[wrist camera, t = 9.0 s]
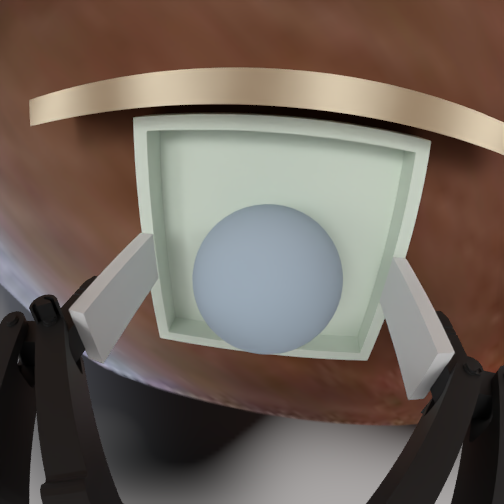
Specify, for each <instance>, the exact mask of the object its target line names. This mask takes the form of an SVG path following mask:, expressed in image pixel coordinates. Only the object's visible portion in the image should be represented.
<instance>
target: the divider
mask: <svg viewBox="0 0 504 504" xmlns="http://www.w3.org/2000/svg"><path fill="white" fill-rule="evenodd" d="M192 104H245V105H267V106H283V107H295V108H305V109H315V110H323V111H331V112H338V113H345V114H352V115H358V116H364V117H369V118H375V119H380V120H385V121H390V122H395V123H399V124H404V125H408V126H412V127H417V128H421V129H425V130H428V131H432V132H436V133H440V134H443V135H447V136H450V137H453V138H457V139H460V140H463V141H466V142H469V143H472V144H475V145H478V146H481V147H484V148H487V149H490V150H492V151H495V152H498V153H500V154H503V155H504V122H501V121H499V120H497V119H494V118H492V117H490V116H487V115H485V114H482V113H480V112H477V111H475V110H472V109H470V108H467V107H464V106H461V105H459V104H456V103H453V102H450V101H447V100H444V99H441V98H437V97H434V96H431V95H427V94H424V93H420V92H417V91H413V90H409V89H406V88H402V87H397V86H393V85H389V84H384V83H380V82H375V81H370V80H365V79H359V78H354V77H348V76H341V75H334V74H327V73H319V72H310V71H300V70H288V69H271V68H201V69H185V70H173V71H163V72H154V73H146V74H138V75H132V76H125V77H119V78H114V79H108V80H103V81H98V82H94V83H89V84H85V85H80V86H76V87H72V88H68V89H65V90H61V91H57V92H54V93H50V94H47V95H44V96H40V97H37V98H34V99H31V100H29V106H30V126H33V125H38V124H42V123H46V122H51V121H55V120H60V119H65V118H70V117H76V116H82V115H87V114H94V113H100V112H107V111H115V110H123V109H132V108H143V107H155V106H170V105H192Z"/></svg>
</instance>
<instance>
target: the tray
mask: <svg viewBox="0 0 504 504" xmlns="http://www.w3.org/2000/svg"><path fill="white" fill-rule="evenodd" d="M133 127H134V150H135V167H136V180H137V192H138V202H139V212H140V221H141V229H142V233H147V234H153V240H154V248H155V256H156V263H157V270H158V277H159V278H158V280H157V281H156V283H155V284H154V286H153V287H152V289H151V294H152V300H153V305H154V310H155V315H156V320H157V325H158V330H159V334H160V338H164V339H169V340H175V341H180V342H186V343H192V344H198V345H204V346H210V347H217V348H224V349H231V350H238V351H244V350H241V349H238V348H236V347H234V346H232V345H230V344H228V343H227V342H225V341H224V340H223V339H221V338H220V337H219V336H218V335H217V334H216V333H215V332H213V331H212V329H211V328H210V327H209V326H208V325H207V323H206V322H205V320H204V319H203V317H202V315H201V313H200V311H199V309H198V307H197V303H196V300H195V297H194V292H193V281H192V274H193V268H194V262H195V258H196V255H197V252H198V250H199V248H200V246H201V244H202V242H203V240H204V239H205V237H206V236H207V234H208V233H209V232H210V231H211V229H212V228H213V227H214V226H215V225H216V224H217V223H218V222H220V221H221V220H222V219H224V218H225V217H226V216H228V215H230V214H232V213H233V212H235V211H237V210H240V209H242V208H245V207H249V206H253V205H262V204H276V205H282V206H286V207H290V208H293V209H296V210H298V211H300V212H302V213H304V214H306V215H308V216H309V217H311V218H312V219H313V220H315V221H316V222H317V223H318V224H319V225H320V226H321V227H322V228H323V229H324V230H325V231H326V232H327V234H328V235H329V236H330V238H331V239H332V241H333V243H334V245H335V247H336V249H337V251H338V254H339V257H340V260H341V265H342V272H343V287H342V293H341V298H340V301H339V304H338V307H337V310H336V312H335V314H334V316H333V317H332V319H331V320H330V322H329V323H328V325H327V326H326V327H325V329H324V330H323V331H322V332H321V333H320V334H319V335H317V336H316V337H315V338H314V339H312V340H311V341H310V342H308V343H307V344H305V345H303V346H301V347H299V348H297V349H294V350H291V351H288V352H285V353H280V354H273V355H283V356H294V357H306V358H321V359H339V360H368V358H369V356H370V353H371V351H372V349H373V346H374V344H375V341H376V339H377V337H378V334H379V332H380V329H381V327H382V324H383V322H384V319H385V316H384V313H383V310H382V307H381V304H380V298H381V295H382V292H383V288H384V285H385V282H386V279H387V276H388V272H389V269H390V266H391V262H392V259H393V257H396V258H405V257H406V254H407V250H408V247H409V243H410V240H411V236H412V232H413V229H414V225H415V221H416V217H417V213H418V208H419V204H420V200H421V195H422V190H423V185H424V180H425V175H426V170H427V164H428V159H429V152H430V146H431V141H430V140H427V139H424V138H421V137H419V136H416V135H411V134H407V133H402V132H398V131H393V130H388V129H383V128H378V127H372V126H367V125H361V124H355V123H348V122H341V121H334V120H326V119H318V118H309V117H299V116H288V115H275V114H258V113H227V112H200V113H169V114H152V115H145V116H139V117H133ZM246 352H247V351H246Z"/></svg>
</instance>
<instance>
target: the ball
mask: <svg viewBox="0 0 504 504" xmlns="http://www.w3.org/2000/svg"><path fill="white" fill-rule="evenodd" d="M192 281H193V292H194V297H195V300H196V303H197V307H198V309H199V311H200V313H201V315H202V317H203V319H204V320H205V322H206V323H207V325H208V326H209V327H210V328H211V329H212V331H213V332H215V333H216V334H217V335H218V336H219V337H220V338H221V339H223V340H224V341H225V342H227V343H228V344H230V345H232V346H234V347H236V348H238V349H241V350H244V351H247V352H251V353H256V354H280V353H285V352H288V351H291V350H294V349H297V348H299V347H301V346H303V345H305V344H307V343H308V342H310V341H311V340H312V339H314V338H315V337H316V336H317V335H319V334H320V333H321V332H322V331H323V330H324V329H325V327H326V326H327V325H328V323H329V322H330V320H331V319H332V317H333V316H334V314H335V312H336V310H337V307H338V304H339V301H340V298H341V293H342V287H343V272H342V265H341V260H340V257H339V254H338V251H337V249H336V247H335V245H334V243H333V241H332V239H331V238H330V236H329V235H328V234H327V232H326V231H325V230H324V229H323V228H322V227H321V226H320V225H319V224H318V223H317V222H316V221H315V220H313V219H312V218H311V217H309V216H308V215H306V214H304V213H302V212H300V211H298V210H296V209H293V208H290V207H286V206H282V205H276V204H262V205H253V206H249V207H245V208H242V209H240V210H237V211H235V212H233V213H232V214H230V215H228V216H226V217H225V218H224V219H222V220H221V221H220V222H218V223H217V224H216V225H215V226H214V227H213V228H212V229H211V231H210V232H209V233H208V234H207V236H206V237H205V239H204V240H203V242H202V244H201V246H200V248H199V250H198V252H197V255H196V258H195V262H194V268H193V274H192Z"/></svg>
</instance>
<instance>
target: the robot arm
mask: <svg viewBox="0 0 504 504" xmlns="http://www.w3.org/2000/svg"><path fill="white" fill-rule="evenodd" d="M158 278H159V277H158V270H157V263H156V256H155V248H154V240H153V234H147V233H140V234H139V235H138V236H137V237H136V238H135V239H134V240H133V241H132V242H131V243H130V244H129V245H128V246H127V247H126V248H125V249H124V250H123V251H122V252H121V253H120V254H119V255H118V256H117V257H116V258H115V259H114V260H113V261H112V262H111V263H110V264H109V265H108V266H107V267H106V268H105V269H104V271H103V272H102V273H101V274H100V275H99V276H98V277H97V276H93V277H92V278H90V279H88V280H87V281H85V282H84V283H83V284H82V285H81V287H80V288H79V289H78V290H77V291H76V292H75V294H73V295H72V296H71V297H70V299H69V300H68V301H67V302H66V303H65V304H64V305H63V306H62V308H60V306H59V303H58V300H57V298H56V297H55V296H54V295H43V296H40V297H38V298H37V299H35V300H34V301H33V302H32V303H31V305H30V307H29V309H30V311H31V313H32V316H33V318H34V320H35V321H26V319H25V316H24V314H23V313H21V312H17V311H16V312H12V313H9V314H8V315H7V316H5V317H4V319H3V320H2V322H1V324H0V504H29V482H30V462H31V450H32V440H33V431H34V424H35V417H36V411H37V422H38V432H39V440H40V446H41V453H42V460H43V465H44V471H45V476H46V482H45V483H44V484H42V485H41V489H40V493H41V499H42V502H43V504H123V503H122V501H121V499H120V497H119V495H118V492H117V489H116V487H115V484H114V481H113V479H112V476H111V473H110V470H109V467H108V464H107V461H106V458H105V454H104V451H103V447H102V444H101V441H100V437H99V433H98V429H97V426H96V422H95V418H94V413H93V409H92V405H91V400H90V395H89V390H88V386H87V380H86V375H85V368H84V363H83V359H82V357H81V355H82V354H83V352H84V351H86V353H87V355H88V357H89V359H90V360H94V361H97V362H100V363H103V364H104V362H105V360H106V359H107V357H108V356H109V354H110V352H111V351H112V349H113V347H114V346H115V344H116V343H117V341H118V339H119V338H120V336H121V335H122V333H123V331H124V330H125V328H126V327H127V325H128V324H129V322H130V320H131V319H132V317H133V316H134V314H135V313H136V311H137V310H138V308H139V307H140V305H141V304H142V302H143V301H144V299H145V298H146V296H147V295H148V293H149V292H150V290H151V289H152V287H153V286H154V284H155V283H156V281H157V280H158ZM380 304H381V307H382V310H383V313H384V316H385V319H386V322H387V325H388V329H389V332H390V335H391V338H392V342H393V345H394V348H395V352H396V355H397V359H398V363H399V366H400V370H401V374H402V377H403V381H404V385H405V389H406V393H407V397H408V400H414V399H424V398H425V396H426V395H427V394H428V392H429V391H430V390H431V393H432V399H431V400H430V401H429V403H428V404H427V405H426V407H425V408H424V409H423V410H422V412H421V413H423V415H422V417H421V419H420V421H419V423H418V425H417V427H416V428H415V430H414V432H413V434H412V435H411V437H410V439H409V441H408V442H407V444H406V446H405V448H404V449H403V451H402V453H401V454H400V456H399V457H398V459H397V461H396V462H395V464H394V465H393V467H392V468H391V470H390V471H389V473H388V474H387V476H386V477H385V479H384V480H383V481H382V483H381V484H380V486H379V487H378V489H377V490H376V491H375V493H374V494H373V496H372V497H371V498H370V499H369V501H368V502H367V503H366V504H434V503H435V501H436V500H437V498H438V496H439V494H440V492H441V490H442V488H443V486H444V484H445V482H446V480H447V478H448V476H449V474H450V472H451V470H452V467H453V465H454V463H455V460H456V458H457V456H458V453H459V451H460V448H461V446H462V443H463V447H462V453H461V459H460V466H459V470H458V476H457V480H456V485H455V489H454V494H453V498H452V502H451V504H504V365H503V366H501V367H500V368H499V370H498V371H497V372H496V373H492V372H487V371H483V368H482V366H481V364H480V363H479V362H478V361H477V360H475V359H474V358H471V357H469V356H467V355H466V353H465V351H464V349H463V347H462V345H461V342H460V340H459V338H458V336H457V335H456V332H455V330H454V328H453V326H452V324H451V323H450V321H449V319H448V318H447V317H446V316H445V315H444V314H443V313H442V312H441V311H435V310H434V308H433V306H432V304H431V302H430V300H429V299H428V297H427V295H426V293H425V291H424V289H423V287H422V286H421V284H420V282H419V280H418V278H417V277H416V275H415V273H414V271H413V270H412V268H411V266H410V265H409V263H408V261H407V259H406V258H396V257H393V259H392V262H391V266H390V269H389V272H388V276H387V279H386V282H385V285H384V288H383V292H382V295H381V298H380ZM18 359H19V363H18V364H17V362H18Z"/></svg>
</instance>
